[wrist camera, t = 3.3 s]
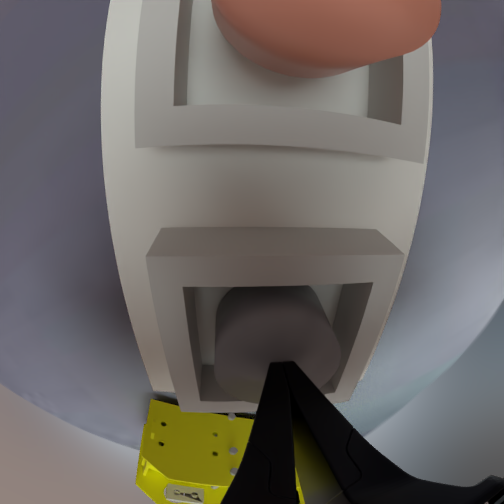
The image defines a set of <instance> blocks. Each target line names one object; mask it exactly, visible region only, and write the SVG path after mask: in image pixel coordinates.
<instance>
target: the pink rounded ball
mask: <svg viewBox="0 0 504 504" xmlns="http://www.w3.org/2000/svg"><path fill="white" fill-rule="evenodd" d="M211 3H212V9H213V15H214V18H215V21H216V24H217V26H218V28H219V29H220V31H221V33H222V35H223V36H224V37H225V38H226V40H227V41H228V42H229V43H230V44H231V45H232V46H233V47H234V48H235V49H236V50H237V51H238V52H239V53H241V54H242V55H243V56H244V57H246V58H248V59H249V60H251V61H252V62H254V63H256V64H258V65H260V66H262V67H264V68H266V69H269V70H271V71H274V72H276V73H280V74H284V75H288V76H293V77H299V78H324V77H331V76H335V75H338V74H342V73H345V72H348V71H351V70H354V69H357V68H360V67H363V66H366V65H369V64H372V63H376V62H379V61H383V60H386V59H390V58H393V57H397V56H401V55H404V54H407V53H410V52H413V51H415V50H416V49H418V48H420V47H422V46H423V45H424V44H425V43H426V42H428V41H429V40H430V38H431V37H432V36H433V34H434V33H435V31H436V29H437V27H438V25H439V21H440V16H441V0H211Z"/></svg>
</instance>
